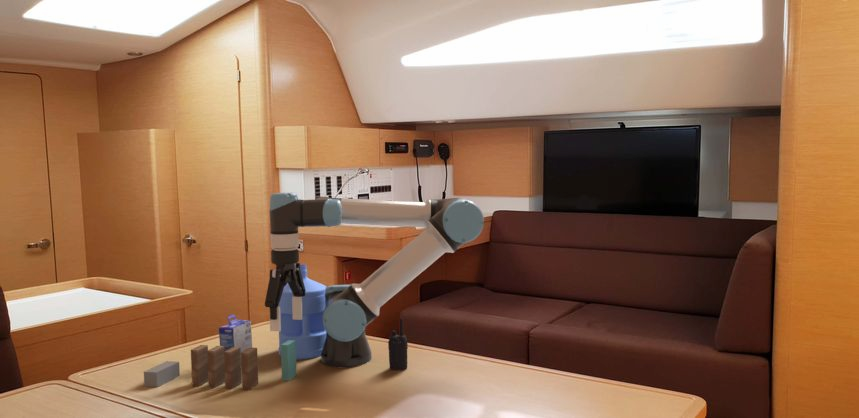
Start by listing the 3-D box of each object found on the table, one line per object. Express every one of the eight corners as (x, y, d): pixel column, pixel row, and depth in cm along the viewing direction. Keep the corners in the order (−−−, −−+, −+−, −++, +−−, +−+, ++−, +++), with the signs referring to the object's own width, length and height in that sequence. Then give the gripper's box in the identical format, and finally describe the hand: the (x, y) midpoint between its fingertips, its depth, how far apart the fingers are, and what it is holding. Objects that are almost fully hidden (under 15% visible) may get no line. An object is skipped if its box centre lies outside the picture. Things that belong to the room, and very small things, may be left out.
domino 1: (209, 380, 182) (207, 345, 182) (198, 386, 178) (197, 350, 177) (202, 380, 183) (201, 344, 182) (192, 386, 178) (190, 349, 177)
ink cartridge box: (238, 357, 204) (236, 311, 203) (253, 359, 203) (252, 312, 202) (219, 367, 195) (217, 319, 194) (235, 368, 193) (234, 319, 192)
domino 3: (241, 382, 180) (240, 346, 179) (232, 389, 175) (230, 352, 175) (235, 382, 181) (233, 346, 180) (225, 388, 176) (224, 351, 175)
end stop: (179, 375, 188) (179, 361, 187) (157, 387, 178) (156, 372, 178) (167, 374, 188) (166, 361, 188) (144, 386, 179) (143, 371, 179)
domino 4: (258, 384, 179) (257, 347, 178) (249, 390, 174) (247, 352, 173) (251, 383, 179) (250, 347, 179) (242, 389, 174) (241, 352, 174)
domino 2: (225, 381, 181) (224, 346, 181) (215, 387, 176) (213, 351, 176) (218, 381, 182) (217, 345, 181) (208, 387, 177) (207, 350, 176)
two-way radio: (408, 368, 191) (407, 316, 190) (406, 372, 186) (405, 320, 185) (389, 367, 191) (388, 316, 190) (387, 372, 187) (386, 320, 186)
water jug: (276, 349, 213) (274, 263, 211) (325, 345, 217) (323, 260, 215) (281, 363, 198) (277, 270, 196) (333, 357, 202) (330, 267, 201)
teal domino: (296, 375, 186) (295, 340, 185) (288, 380, 181) (287, 345, 180) (290, 374, 186) (289, 340, 186) (282, 380, 182) (280, 344, 181)
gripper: (292, 243, 194) (294, 314, 196) (249, 254, 170) (252, 335, 172) (315, 243, 193) (317, 315, 194) (276, 255, 168) (278, 337, 170)
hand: (286, 325), depth 183 cm, fingers open, 13 cm apart
